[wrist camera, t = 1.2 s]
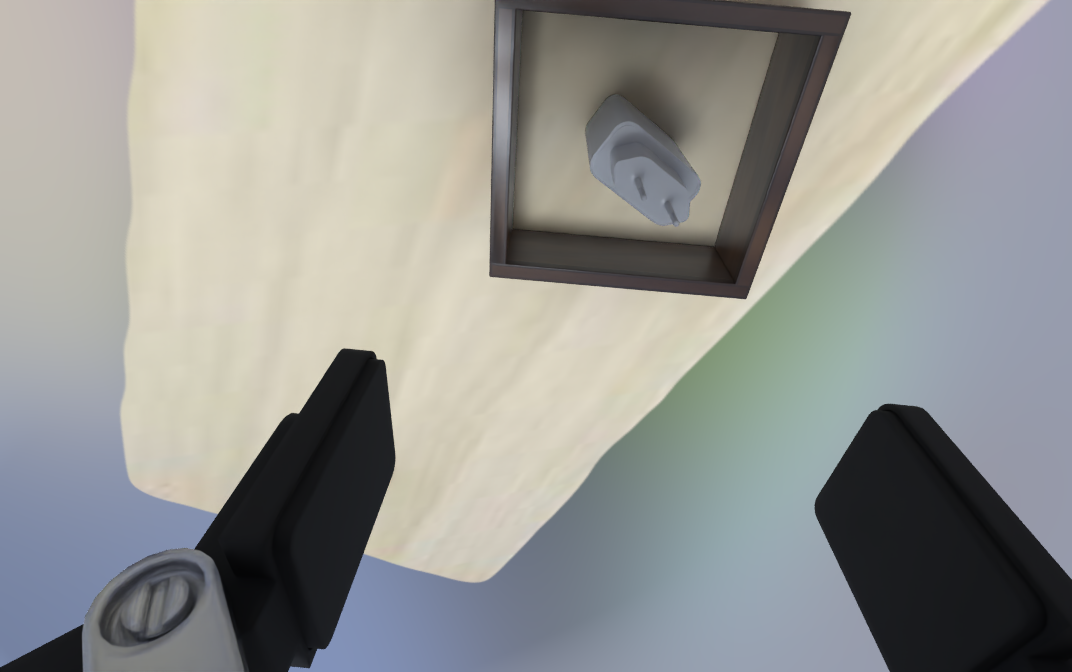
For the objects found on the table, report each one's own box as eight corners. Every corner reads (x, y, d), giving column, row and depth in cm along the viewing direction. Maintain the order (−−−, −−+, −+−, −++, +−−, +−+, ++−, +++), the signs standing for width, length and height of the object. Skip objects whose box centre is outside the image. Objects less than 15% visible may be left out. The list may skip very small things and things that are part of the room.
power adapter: (645, 185, 32) (680, 273, 22) (580, 133, 31) (586, 203, 21) (680, 145, 31) (734, 220, 21) (613, 88, 29) (637, 140, 19)
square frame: (507, -19, 26) (494, -20, 22) (803, 7, 26) (852, 11, 22) (499, 239, 35) (489, 277, 30) (723, 259, 35) (746, 299, 30)
